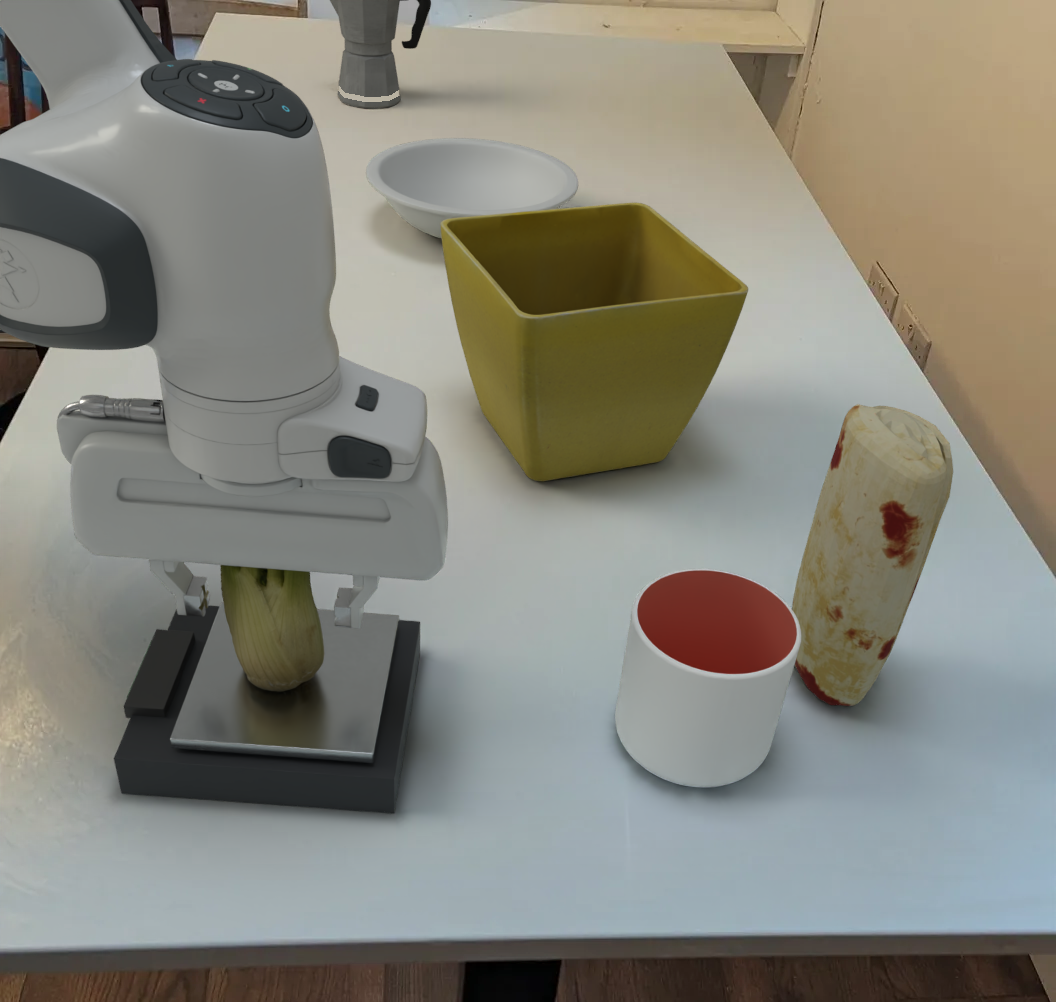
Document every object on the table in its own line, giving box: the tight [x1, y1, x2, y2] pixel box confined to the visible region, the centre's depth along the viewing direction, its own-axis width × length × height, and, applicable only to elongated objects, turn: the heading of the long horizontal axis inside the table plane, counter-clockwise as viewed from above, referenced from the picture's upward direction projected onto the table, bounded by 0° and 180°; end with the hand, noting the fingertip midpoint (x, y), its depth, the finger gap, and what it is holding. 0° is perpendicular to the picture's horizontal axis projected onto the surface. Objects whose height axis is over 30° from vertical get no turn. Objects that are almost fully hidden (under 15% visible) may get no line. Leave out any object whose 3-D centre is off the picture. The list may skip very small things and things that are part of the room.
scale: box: [113, 604, 421, 814], centre depth 73 cm, size 16×14×4 cm
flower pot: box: [440, 202, 749, 482], centre depth 98 cm, size 19×19×17 cm
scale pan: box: [170, 601, 400, 763], centre depth 72 cm, size 12×12×1 cm
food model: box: [791, 403, 954, 707], centre depth 75 cm, size 10×7×20 cm
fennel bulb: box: [219, 565, 324, 692], centre depth 68 cm, size 6×5×12 cm
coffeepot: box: [329, 0, 432, 110], centre depth 167 cm, size 15×9×18 cm, turn 88°
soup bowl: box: [365, 137, 579, 240], centre depth 135 cm, size 24×24×7 cm
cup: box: [614, 568, 801, 788], centre depth 73 cm, size 10×10×10 cm
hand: (272, 615), depth 69 cm, fingers open, 8 cm apart
